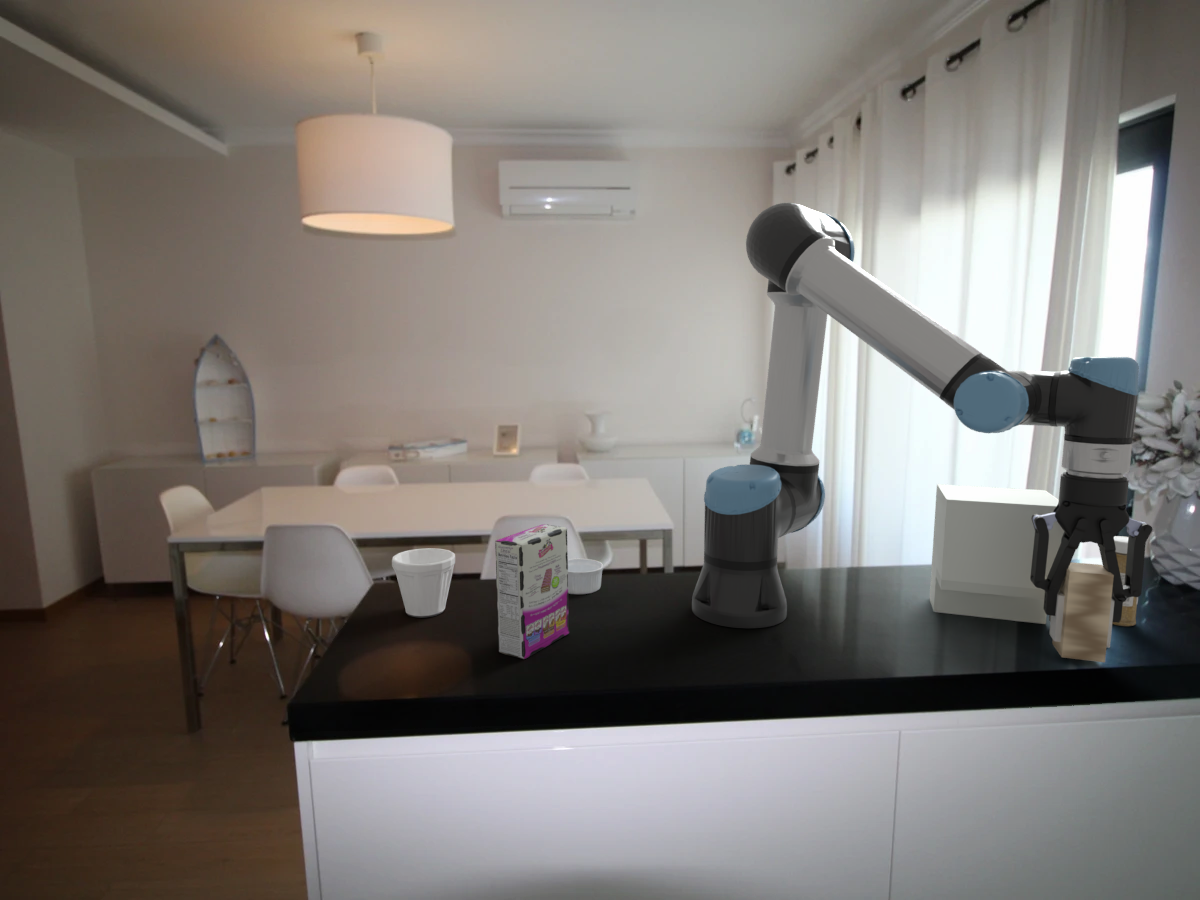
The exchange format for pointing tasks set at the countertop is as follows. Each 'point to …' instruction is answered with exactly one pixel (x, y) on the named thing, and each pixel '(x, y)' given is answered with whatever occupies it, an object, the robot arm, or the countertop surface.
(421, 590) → the cup
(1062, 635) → the wooden rectangular block
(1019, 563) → the cabinet
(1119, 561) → the sprinkles bottle
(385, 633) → the countertop surface
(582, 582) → the ramekin
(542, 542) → the candy bar box
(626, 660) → the countertop surface
